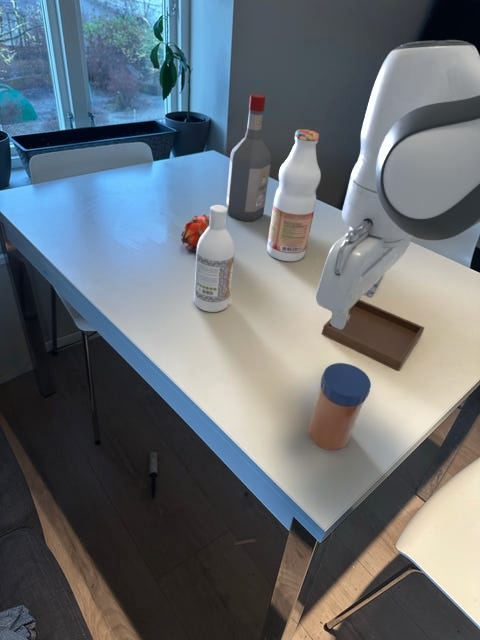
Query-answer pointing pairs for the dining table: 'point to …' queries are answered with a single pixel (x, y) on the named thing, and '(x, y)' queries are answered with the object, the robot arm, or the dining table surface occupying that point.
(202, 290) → the bath foam
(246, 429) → the dining table surface
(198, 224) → the dragon fruit
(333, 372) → the jar lid
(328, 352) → the dining table surface
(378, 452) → the dining table surface
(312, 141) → the fruit juice
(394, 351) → the tray
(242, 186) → the liquor
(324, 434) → the jar
